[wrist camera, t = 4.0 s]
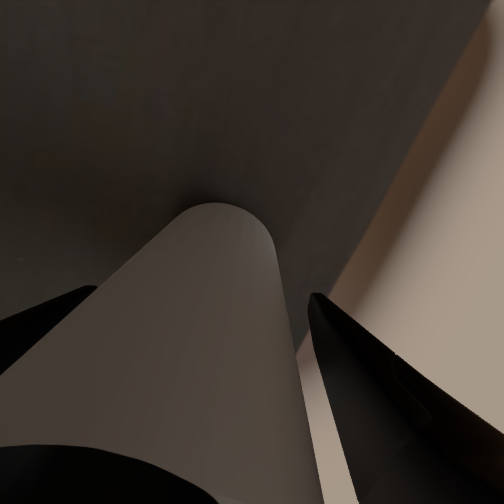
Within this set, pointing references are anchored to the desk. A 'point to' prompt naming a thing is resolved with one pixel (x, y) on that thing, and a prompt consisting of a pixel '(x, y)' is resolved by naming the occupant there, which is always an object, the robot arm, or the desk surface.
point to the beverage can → (166, 382)
